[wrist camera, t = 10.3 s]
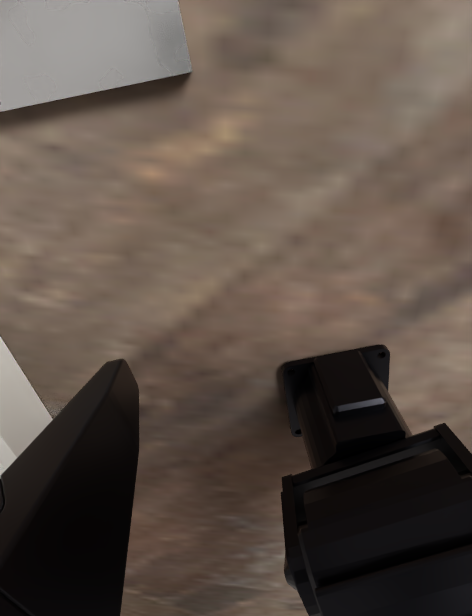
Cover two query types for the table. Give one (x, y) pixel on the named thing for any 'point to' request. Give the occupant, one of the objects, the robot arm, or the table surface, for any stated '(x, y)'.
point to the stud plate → (86, 47)
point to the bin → (17, 410)
